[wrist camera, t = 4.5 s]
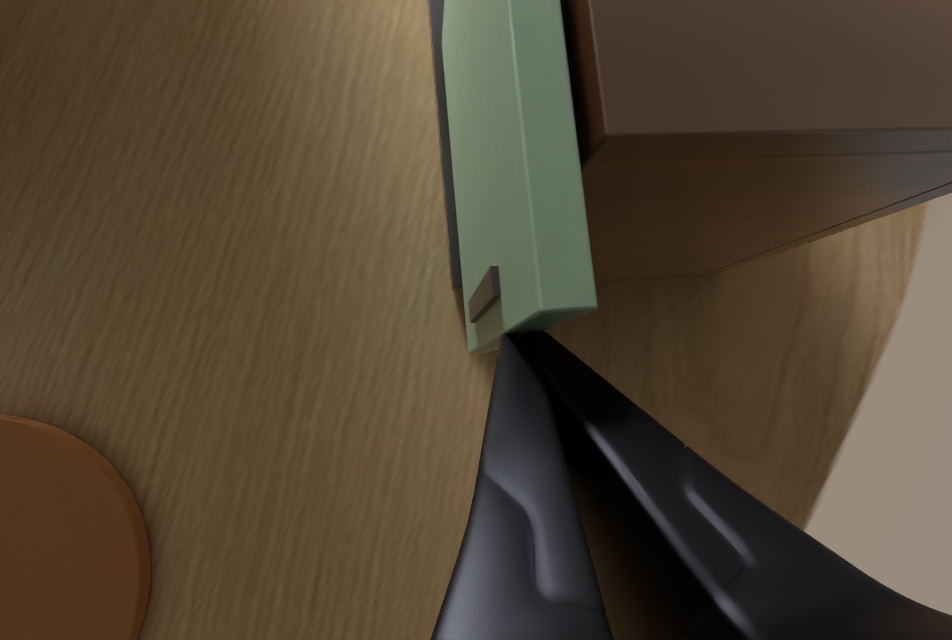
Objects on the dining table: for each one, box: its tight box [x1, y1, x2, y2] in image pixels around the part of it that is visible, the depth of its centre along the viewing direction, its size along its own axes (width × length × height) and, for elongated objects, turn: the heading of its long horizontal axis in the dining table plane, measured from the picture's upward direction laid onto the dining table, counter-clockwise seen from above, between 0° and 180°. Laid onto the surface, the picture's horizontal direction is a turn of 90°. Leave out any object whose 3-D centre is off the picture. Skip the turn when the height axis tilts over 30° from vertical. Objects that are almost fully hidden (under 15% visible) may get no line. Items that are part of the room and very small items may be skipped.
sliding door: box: [442, 0, 598, 354], centre depth 11 cm, size 11×1×9 cm, turn 5°
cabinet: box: [428, 0, 952, 290], centre depth 12 cm, size 12×10×10 cm
